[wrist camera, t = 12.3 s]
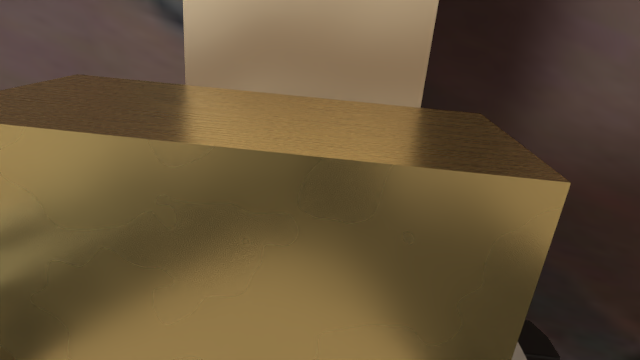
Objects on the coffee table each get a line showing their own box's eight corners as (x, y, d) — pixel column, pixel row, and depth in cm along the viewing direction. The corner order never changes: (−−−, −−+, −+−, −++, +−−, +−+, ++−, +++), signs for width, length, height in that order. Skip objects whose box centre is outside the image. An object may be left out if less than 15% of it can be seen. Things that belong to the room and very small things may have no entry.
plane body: (236, -378, 12) (53, -993, 5) (471, -368, 12) (660, -1013, 5) (230, 290, 21) (160, 437, 13) (368, 307, 21) (375, 467, 13)
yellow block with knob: (77, 74, 9) (-178, 127, 5) (480, 113, 9) (607, 210, 4) (120, 397, 13) (0, 594, 9) (406, 433, 13) (434, 659, 8)
